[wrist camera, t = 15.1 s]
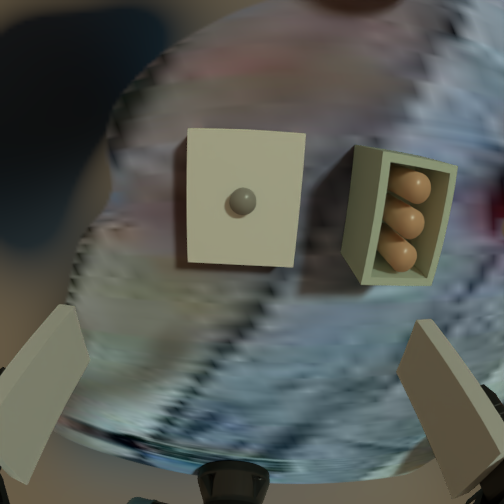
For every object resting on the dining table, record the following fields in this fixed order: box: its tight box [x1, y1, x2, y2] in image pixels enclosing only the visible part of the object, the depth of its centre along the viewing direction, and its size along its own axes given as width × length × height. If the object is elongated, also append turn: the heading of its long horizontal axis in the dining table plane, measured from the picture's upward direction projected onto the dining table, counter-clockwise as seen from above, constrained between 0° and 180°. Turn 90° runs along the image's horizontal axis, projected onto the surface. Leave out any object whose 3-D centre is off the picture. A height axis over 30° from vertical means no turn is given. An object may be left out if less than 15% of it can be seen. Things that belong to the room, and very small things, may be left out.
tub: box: [341, 145, 458, 286], centre depth 29 cm, size 12×8×8 cm, turn 177°
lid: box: [187, 128, 306, 267], centre depth 30 cm, size 13×10×4 cm
